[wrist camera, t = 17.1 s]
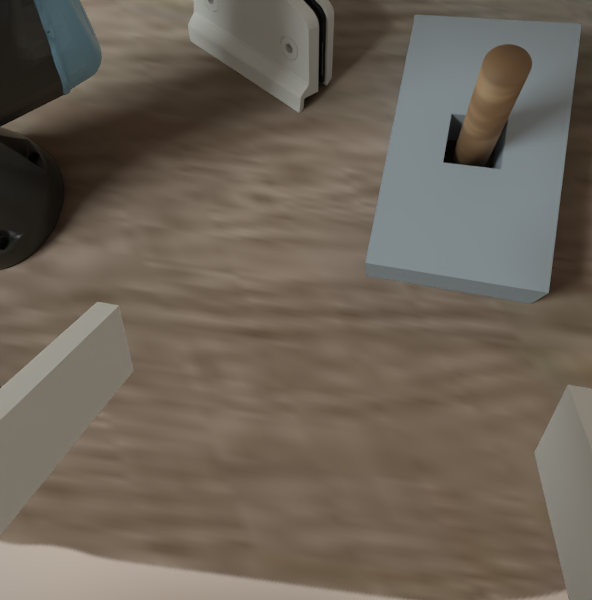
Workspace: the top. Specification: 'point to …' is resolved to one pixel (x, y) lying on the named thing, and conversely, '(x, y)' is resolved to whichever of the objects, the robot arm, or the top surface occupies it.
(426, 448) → the top surface
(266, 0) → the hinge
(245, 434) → the top surface
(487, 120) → the peg
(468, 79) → the hole block
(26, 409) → the robot arm
